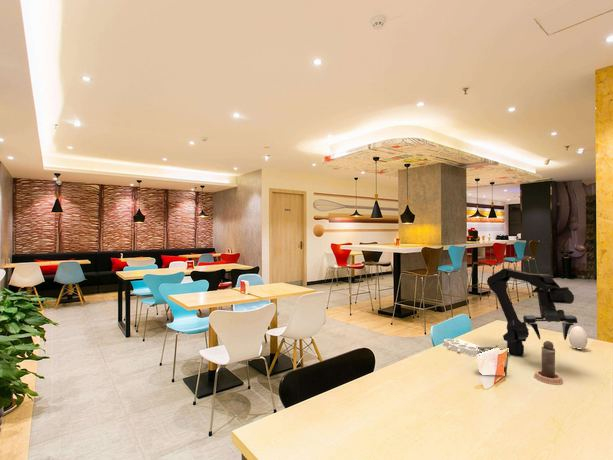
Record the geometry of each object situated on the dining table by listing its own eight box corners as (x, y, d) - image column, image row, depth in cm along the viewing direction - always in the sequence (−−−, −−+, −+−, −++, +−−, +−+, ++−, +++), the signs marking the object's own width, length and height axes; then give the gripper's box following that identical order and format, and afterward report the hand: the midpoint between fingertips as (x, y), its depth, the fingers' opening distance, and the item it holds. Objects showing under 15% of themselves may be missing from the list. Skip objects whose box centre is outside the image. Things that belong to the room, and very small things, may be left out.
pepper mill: (540, 378, 136) (540, 341, 135) (542, 374, 139) (542, 338, 139) (554, 381, 133) (554, 343, 132) (555, 377, 136) (555, 341, 136)
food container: (502, 370, 144) (502, 347, 144) (510, 376, 138) (510, 352, 138) (472, 368, 145) (473, 345, 145) (478, 375, 139) (478, 350, 139)
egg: (572, 351, 167) (572, 327, 167) (566, 346, 175) (566, 323, 175) (590, 352, 165) (590, 328, 165) (583, 347, 172) (583, 324, 172)
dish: (536, 381, 133) (536, 377, 133) (531, 372, 142) (531, 368, 142) (566, 386, 129) (566, 381, 129) (559, 376, 138) (559, 372, 138)
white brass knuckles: (488, 353, 164) (468, 359, 158) (456, 342, 180) (437, 346, 174) (488, 346, 164) (468, 351, 158) (456, 336, 180) (437, 340, 174)
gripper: (525, 304, 145) (530, 342, 143) (578, 303, 138) (585, 343, 135) (520, 302, 155) (525, 338, 153) (570, 302, 148) (576, 338, 145)
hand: (552, 339), depth 146 cm, fingers open, 9 cm apart
